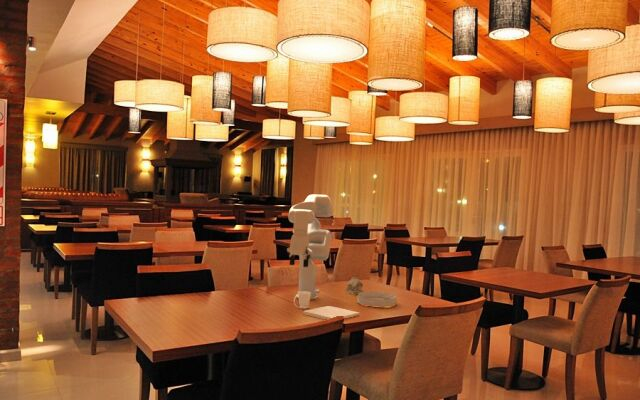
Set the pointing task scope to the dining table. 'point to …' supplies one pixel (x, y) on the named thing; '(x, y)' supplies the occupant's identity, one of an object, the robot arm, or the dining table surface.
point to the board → (330, 312)
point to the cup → (303, 299)
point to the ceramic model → (354, 286)
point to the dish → (376, 299)
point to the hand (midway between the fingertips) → (298, 265)
